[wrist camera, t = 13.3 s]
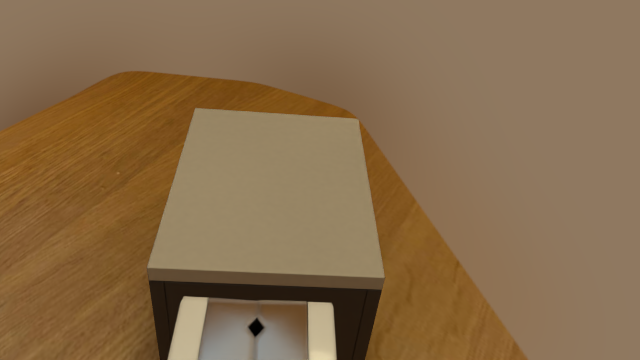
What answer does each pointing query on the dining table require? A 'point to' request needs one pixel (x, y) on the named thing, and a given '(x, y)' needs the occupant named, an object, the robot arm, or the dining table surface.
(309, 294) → the open box
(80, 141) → the dining table surface
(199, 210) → the box lid
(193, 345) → the robot arm
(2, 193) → the dining table surface
